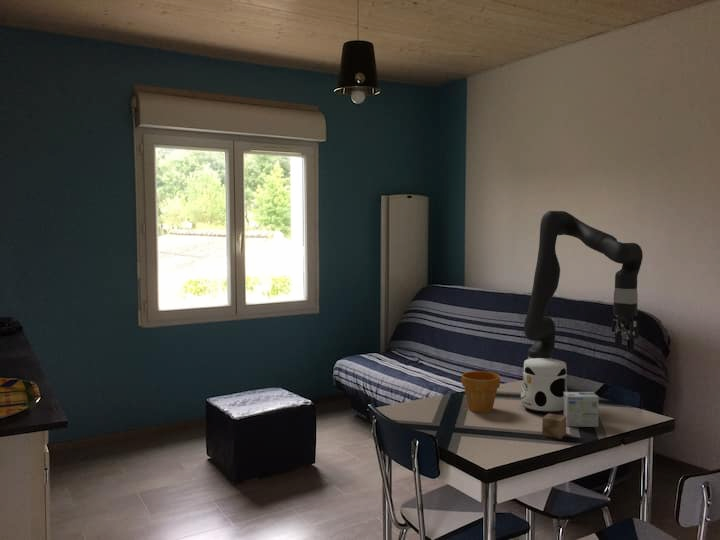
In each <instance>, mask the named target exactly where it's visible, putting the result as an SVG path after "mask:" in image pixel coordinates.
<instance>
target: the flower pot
mask: <svg viewBox="0 0 720 540" xmlns="http://www.w3.org/2000/svg"><path fill="white" fill-rule="evenodd" d="M461 385H462V387H463V388H464V392H465V399H466V402H467V407H468V410H469V411H472V412H475V413H489V412H492V411H493V409H494V405H495V400H496V396H497V392H498V391H497V390H498V389H500V385H501V376H500V374H497V373H495V372H490V371H481V370H480V371H478V370H476V371H474V370H473V371H467V372H464V373H462V374H461Z"/></svg>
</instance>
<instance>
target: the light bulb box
mask: <svg viewBox="0 0 720 540" xmlns="http://www.w3.org/2000/svg"><path fill="white" fill-rule="evenodd" d="M563 416H566V427H573V428H574V427H579V428H581V427H583V428H584V427H585V428H599V396H598V395H597V394H596V393H595V392H594V391H568V392H564V411H563Z"/></svg>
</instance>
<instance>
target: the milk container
mask: <svg viewBox="0 0 720 540" xmlns="http://www.w3.org/2000/svg"><path fill="white" fill-rule="evenodd" d="M567 369H568V368H567V362H565V361H562V360H560V359H555V358H552V359H547V358H533V359H528V358H527V359H525V360H524V361H523V372H522V373H523V377H522V378H523V380H522V381H523V383H522V387H521V390H520V391H521V392H520V400H521V401H520V402H521V405H522V406H523V407H524V408H525V409H527V410H529V411H531V412H537V413H543V414H548V413H549V414H554V413H555V414H557V413H561V412H564V392H569V391H568V389H567V388H568V387H567V381H568V380H567V378H568V377H567V376H568V375H567V371H568V370H567Z"/></svg>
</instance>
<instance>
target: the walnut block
mask: <svg viewBox="0 0 720 540" xmlns="http://www.w3.org/2000/svg"><path fill="white" fill-rule="evenodd" d="M541 420H542V431H541V432H542V433H541V434H542V436H543V437H547V436H548V437H547V438H552V437H553V439H557V438H558V439H557V440H562V439H563V436H564V437H565V436H566V435H567V425H566V416H564V415H560V414H556V413H555V414H554V413H546V415H544V417H542V419H541Z"/></svg>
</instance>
